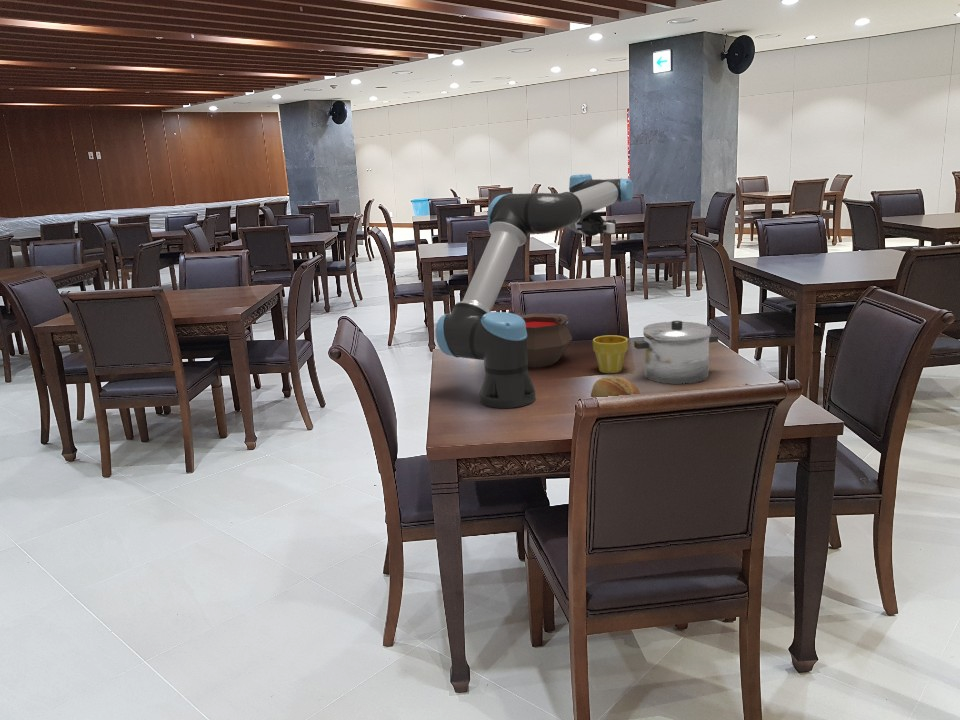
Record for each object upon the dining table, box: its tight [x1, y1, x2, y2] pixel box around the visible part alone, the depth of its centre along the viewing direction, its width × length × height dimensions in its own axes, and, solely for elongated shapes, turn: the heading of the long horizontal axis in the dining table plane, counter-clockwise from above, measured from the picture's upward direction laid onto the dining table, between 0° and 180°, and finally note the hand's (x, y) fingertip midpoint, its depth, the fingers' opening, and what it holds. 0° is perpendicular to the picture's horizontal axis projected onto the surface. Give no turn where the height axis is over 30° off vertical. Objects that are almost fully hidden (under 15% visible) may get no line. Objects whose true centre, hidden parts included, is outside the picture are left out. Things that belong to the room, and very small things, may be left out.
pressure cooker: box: [633, 333, 719, 385], centre depth 211 cm, size 24×21×12 cm
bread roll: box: [590, 376, 641, 398], centre depth 186 cm, size 10×15×8 cm, turn 39°
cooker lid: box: [642, 320, 712, 342], centre depth 208 cm, size 19×19×4 cm
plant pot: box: [592, 334, 629, 374], centre depth 219 cm, size 10×10×10 cm
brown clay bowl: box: [507, 308, 574, 369], centre depth 233 cm, size 24×24×16 cm
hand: (612, 228), depth 216 cm, fingers closed
